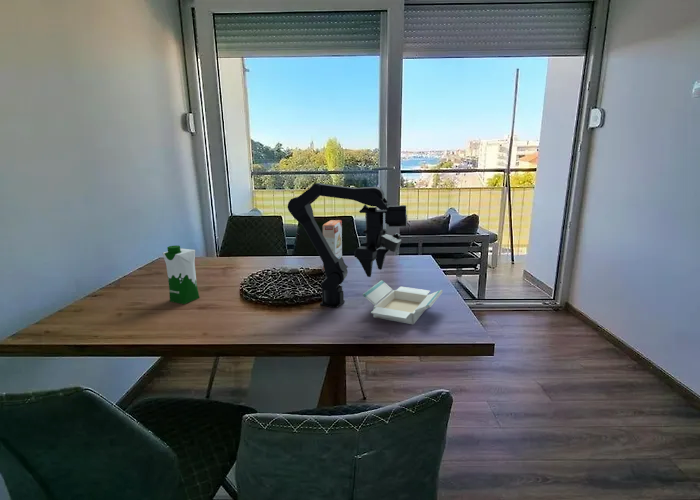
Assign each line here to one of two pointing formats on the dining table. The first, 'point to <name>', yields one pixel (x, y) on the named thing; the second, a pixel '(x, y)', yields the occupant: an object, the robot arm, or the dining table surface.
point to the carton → (401, 305)
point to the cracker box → (333, 236)
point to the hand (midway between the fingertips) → (374, 273)
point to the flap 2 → (428, 301)
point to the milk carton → (181, 274)
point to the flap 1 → (377, 292)
